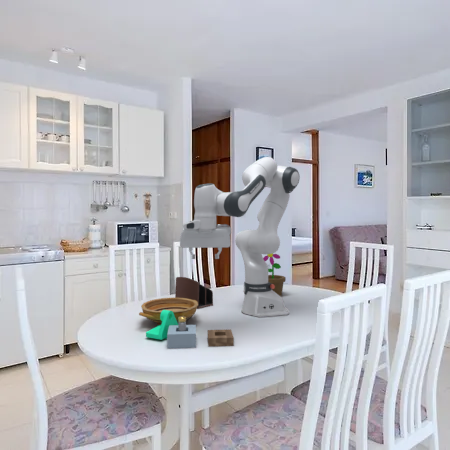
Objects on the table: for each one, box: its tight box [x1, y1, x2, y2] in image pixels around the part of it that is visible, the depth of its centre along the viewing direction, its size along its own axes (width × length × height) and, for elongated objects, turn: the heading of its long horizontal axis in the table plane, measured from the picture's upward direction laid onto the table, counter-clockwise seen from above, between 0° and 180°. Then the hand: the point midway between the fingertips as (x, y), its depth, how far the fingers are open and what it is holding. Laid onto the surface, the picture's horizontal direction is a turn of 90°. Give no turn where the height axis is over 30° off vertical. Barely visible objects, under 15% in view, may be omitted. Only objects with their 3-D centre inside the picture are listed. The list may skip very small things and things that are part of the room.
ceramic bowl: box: [138, 297, 198, 326], centre depth 159 cm, size 30×24×8 cm
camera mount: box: [145, 310, 178, 340], centre depth 143 cm, size 12×8×10 cm, turn 155°
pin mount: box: [207, 328, 235, 347], centre depth 136 cm, size 9×9×3 cm
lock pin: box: [178, 316, 187, 331], centre depth 135 cm, size 3×3×10 cm
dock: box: [166, 324, 197, 349], centre depth 135 cm, size 10×10×5 cm
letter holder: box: [174, 276, 214, 310], centre depth 190 cm, size 10×20×14 cm, turn 42°
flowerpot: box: [263, 253, 286, 297], centre depth 209 cm, size 14×14×30 cm
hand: (205, 258), depth 147 cm, fingers open, 8 cm apart
